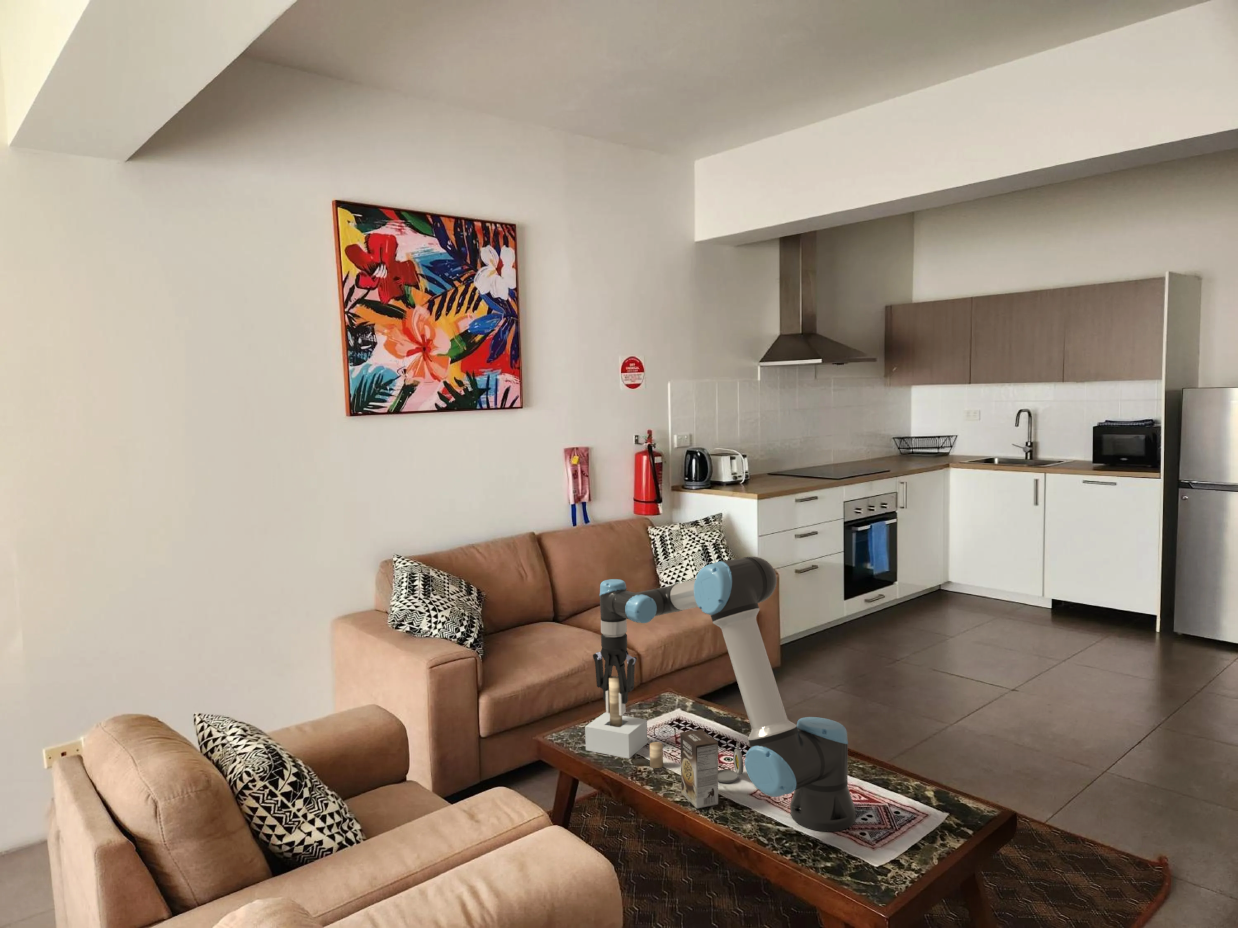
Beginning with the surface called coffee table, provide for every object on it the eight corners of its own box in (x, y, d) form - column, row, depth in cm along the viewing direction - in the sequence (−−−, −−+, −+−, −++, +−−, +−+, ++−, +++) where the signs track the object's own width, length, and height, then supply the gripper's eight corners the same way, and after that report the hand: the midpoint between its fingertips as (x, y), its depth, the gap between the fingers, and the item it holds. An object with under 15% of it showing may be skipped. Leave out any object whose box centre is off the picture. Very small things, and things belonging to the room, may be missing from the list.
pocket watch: (707, 778, 224) (707, 741, 223) (728, 768, 229) (728, 732, 228) (731, 788, 217) (730, 750, 217) (752, 778, 223) (751, 741, 222)
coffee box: (680, 793, 215) (679, 731, 214) (702, 788, 218) (701, 727, 217) (696, 809, 207) (695, 745, 206) (719, 804, 209) (718, 740, 208)
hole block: (629, 758, 237) (628, 734, 237) (585, 749, 244) (585, 726, 243) (647, 742, 248) (647, 719, 247) (605, 734, 254) (604, 712, 254)
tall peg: (618, 727, 243) (617, 680, 242) (607, 725, 245) (606, 678, 244) (624, 723, 246) (623, 676, 245) (613, 721, 248) (612, 674, 247)
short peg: (659, 769, 230) (659, 747, 229) (647, 767, 231) (647, 745, 231) (665, 764, 233) (664, 743, 232) (653, 761, 235) (653, 740, 234)
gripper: (645, 633, 243) (647, 712, 245) (595, 627, 250) (597, 704, 252) (633, 640, 236) (635, 721, 238) (582, 633, 244) (584, 712, 246)
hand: (615, 712), depth 245 cm, fingers closed on tall peg, 3 cm apart
